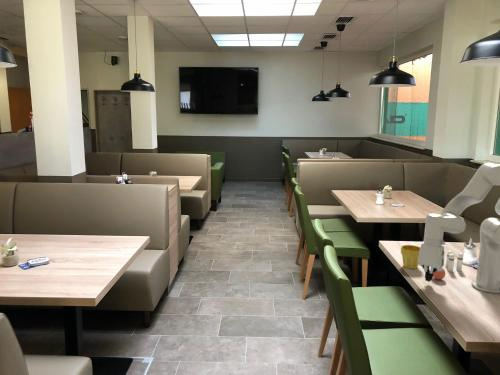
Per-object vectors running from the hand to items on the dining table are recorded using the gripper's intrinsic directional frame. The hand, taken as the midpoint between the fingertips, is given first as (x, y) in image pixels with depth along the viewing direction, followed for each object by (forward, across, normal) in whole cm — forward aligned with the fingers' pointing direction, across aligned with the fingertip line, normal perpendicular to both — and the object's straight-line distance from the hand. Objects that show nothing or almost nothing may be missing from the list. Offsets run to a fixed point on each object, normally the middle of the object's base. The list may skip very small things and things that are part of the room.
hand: (428, 280), depth 183 cm
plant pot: (+2, +16, -16) cm, 22 cm away
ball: (-1, 0, -10) cm, 10 cm away
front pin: (+2, 0, -25) cm, 25 cm away
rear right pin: (+2, -3, -29) cm, 29 cm away
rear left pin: (+2, +2, -29) cm, 29 cm away
